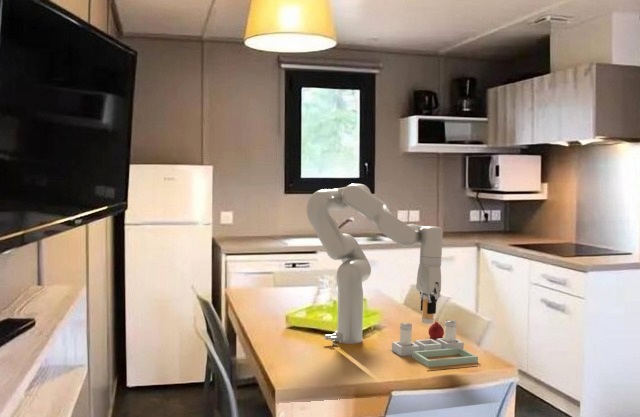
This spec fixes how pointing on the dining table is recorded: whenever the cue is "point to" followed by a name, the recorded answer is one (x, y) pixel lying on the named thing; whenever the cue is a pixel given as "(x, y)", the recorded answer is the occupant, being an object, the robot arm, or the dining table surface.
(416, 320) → the dining table surface
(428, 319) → the marked fuse
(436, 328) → the onion
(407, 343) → the cylinder
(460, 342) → the fuse holder
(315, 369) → the dining table surface
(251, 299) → the dining table surface
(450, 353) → the tray
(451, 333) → the cylinder
